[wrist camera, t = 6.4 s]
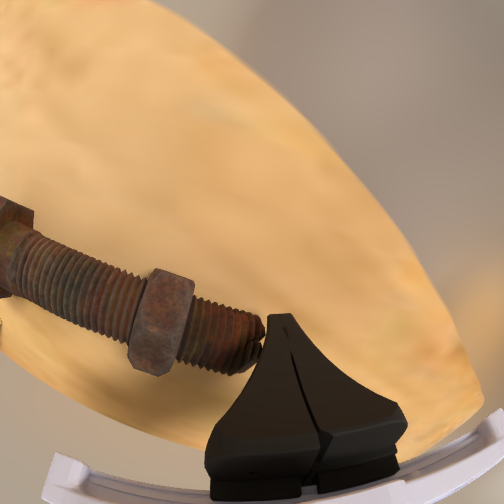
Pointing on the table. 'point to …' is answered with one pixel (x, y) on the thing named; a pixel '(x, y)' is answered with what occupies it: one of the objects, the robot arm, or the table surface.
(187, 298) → the bolt
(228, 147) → the table surface
